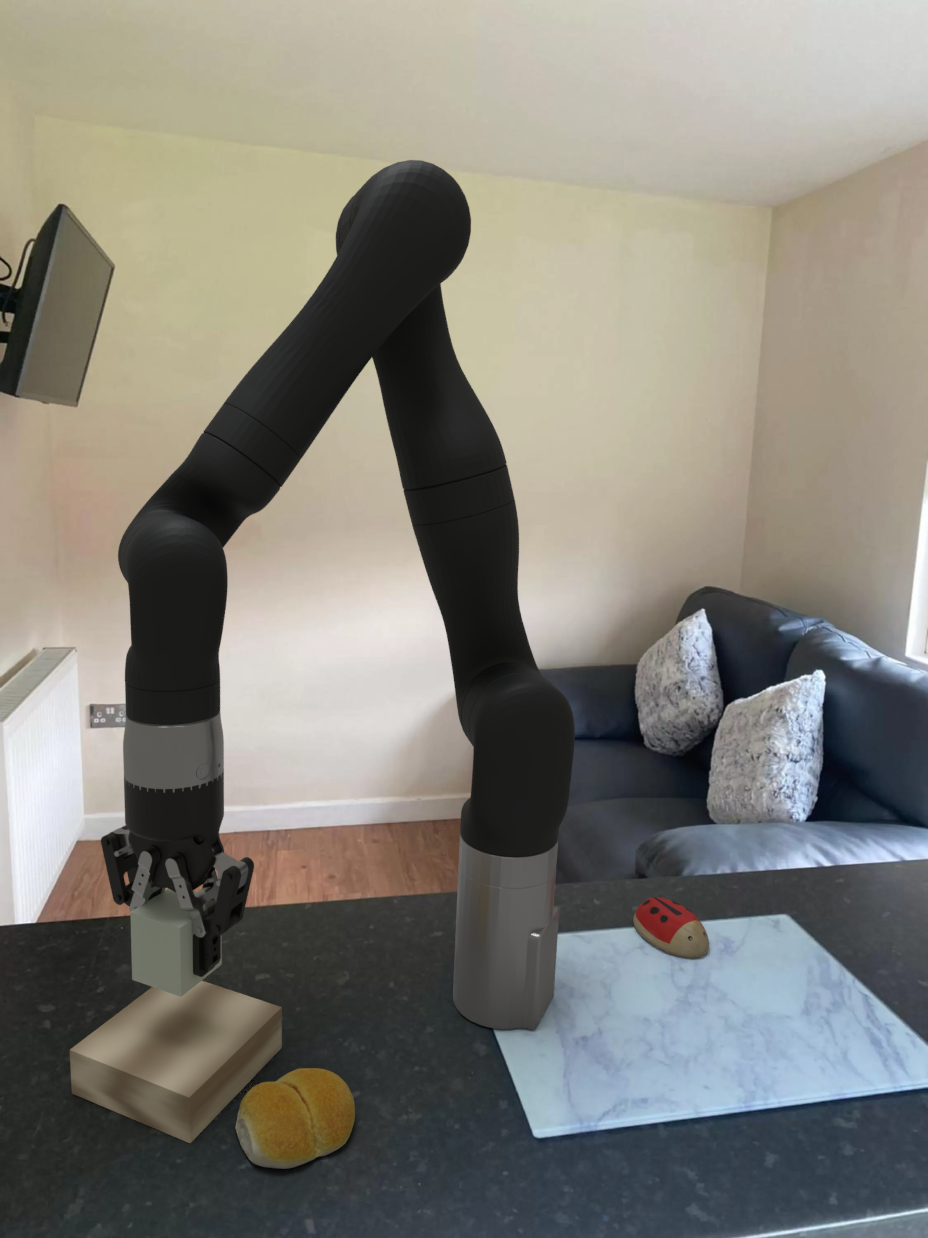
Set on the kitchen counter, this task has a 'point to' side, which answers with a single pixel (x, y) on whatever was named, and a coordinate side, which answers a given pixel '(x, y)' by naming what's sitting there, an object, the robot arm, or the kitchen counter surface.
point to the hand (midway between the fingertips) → (177, 961)
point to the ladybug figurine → (671, 927)
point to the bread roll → (295, 1118)
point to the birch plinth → (177, 1056)
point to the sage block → (164, 945)
